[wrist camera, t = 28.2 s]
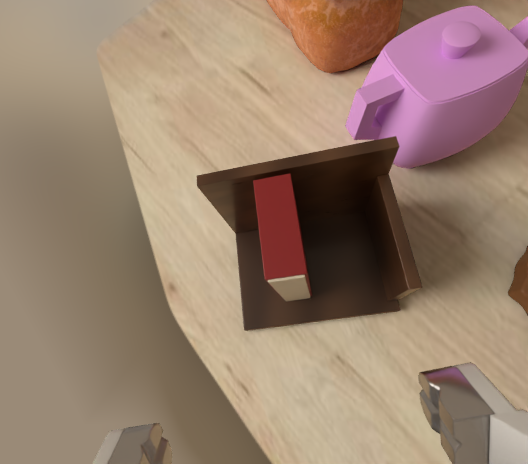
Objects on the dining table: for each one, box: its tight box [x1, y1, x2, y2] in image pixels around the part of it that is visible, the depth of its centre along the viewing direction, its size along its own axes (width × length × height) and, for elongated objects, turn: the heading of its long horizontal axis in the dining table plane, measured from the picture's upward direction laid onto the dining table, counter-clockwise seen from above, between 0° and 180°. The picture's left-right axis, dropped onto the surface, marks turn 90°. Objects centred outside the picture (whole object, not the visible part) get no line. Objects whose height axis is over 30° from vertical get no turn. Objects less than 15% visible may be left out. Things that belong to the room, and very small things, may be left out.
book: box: [253, 174, 312, 301], centre depth 28 cm, size 3×8×12 cm, turn 7°
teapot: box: [345, 6, 528, 168], centre depth 31 cm, size 20×12×13 cm, turn 113°
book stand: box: [197, 136, 422, 331], centre depth 28 cm, size 16×12×13 cm
